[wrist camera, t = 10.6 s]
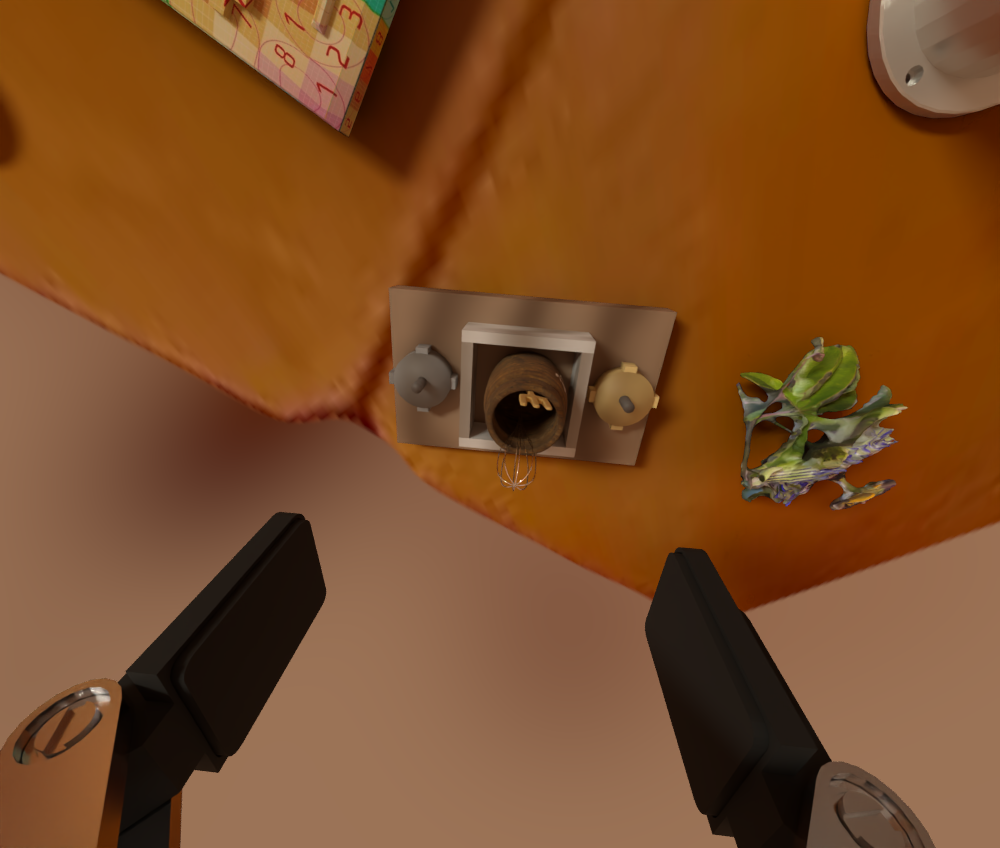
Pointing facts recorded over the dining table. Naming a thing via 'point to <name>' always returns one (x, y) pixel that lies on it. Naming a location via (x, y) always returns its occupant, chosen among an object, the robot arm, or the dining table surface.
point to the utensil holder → (525, 405)
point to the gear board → (525, 327)
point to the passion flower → (846, 440)
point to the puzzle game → (303, 46)
